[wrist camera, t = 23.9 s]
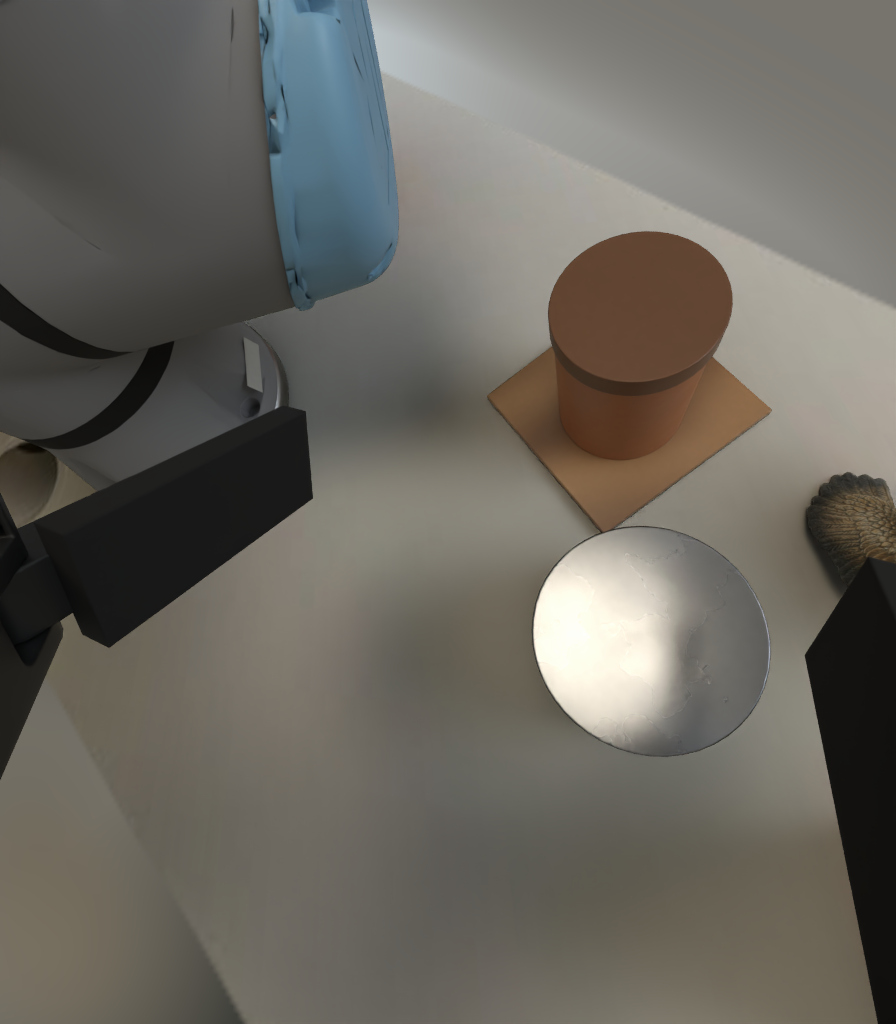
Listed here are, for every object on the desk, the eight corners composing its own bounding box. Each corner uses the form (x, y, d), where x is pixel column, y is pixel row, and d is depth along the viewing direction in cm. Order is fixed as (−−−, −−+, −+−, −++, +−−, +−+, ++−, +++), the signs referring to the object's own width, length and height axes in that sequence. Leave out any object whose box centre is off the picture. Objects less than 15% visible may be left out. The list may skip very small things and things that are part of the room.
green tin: (510, 619, 28) (489, 608, 22) (639, 524, 28) (658, 484, 21) (616, 767, 25) (629, 807, 19) (762, 662, 25) (828, 665, 18)
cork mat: (487, 399, 32) (486, 395, 32) (631, 290, 32) (632, 285, 31) (604, 535, 28) (604, 533, 28) (769, 413, 28) (772, 410, 27)
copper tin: (532, 400, 31) (514, 303, 22) (628, 327, 31) (647, 202, 22) (611, 487, 28) (624, 416, 20) (716, 409, 28) (775, 303, 20)
